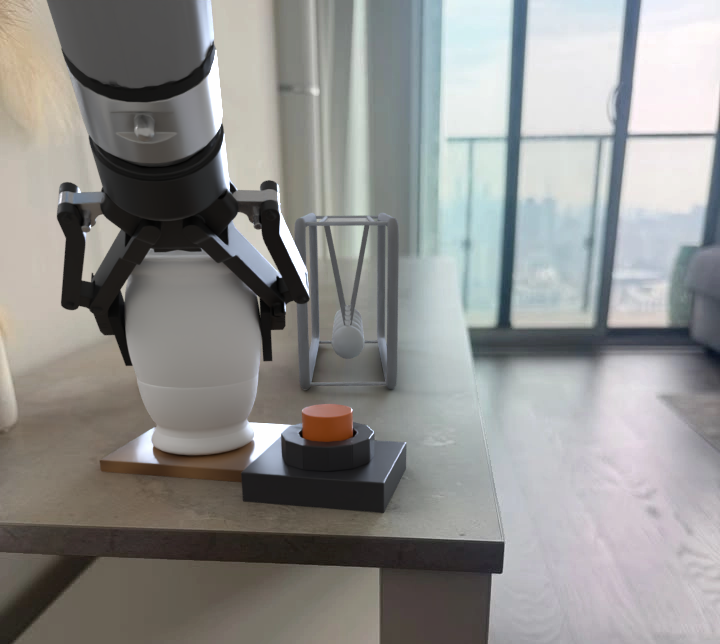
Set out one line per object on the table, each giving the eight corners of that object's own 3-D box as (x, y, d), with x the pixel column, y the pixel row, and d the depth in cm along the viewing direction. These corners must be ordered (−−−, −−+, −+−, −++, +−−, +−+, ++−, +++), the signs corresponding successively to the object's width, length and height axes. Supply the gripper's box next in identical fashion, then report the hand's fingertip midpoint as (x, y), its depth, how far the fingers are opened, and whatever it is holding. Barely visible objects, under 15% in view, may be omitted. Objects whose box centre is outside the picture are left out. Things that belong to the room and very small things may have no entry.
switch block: (242, 502, 52) (238, 447, 51) (283, 460, 60) (281, 412, 59) (383, 513, 50) (384, 457, 48) (406, 468, 58) (407, 419, 57)
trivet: (100, 471, 58) (98, 459, 58) (170, 428, 69) (169, 417, 68) (246, 483, 55) (246, 470, 55) (295, 435, 66) (295, 424, 66)
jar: (270, 458, 58) (260, 254, 52) (131, 466, 56) (106, 257, 51) (264, 420, 67) (254, 245, 62) (145, 426, 66) (125, 248, 61)
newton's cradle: (312, 343, 108) (308, 212, 102) (384, 342, 108) (385, 212, 102) (299, 394, 80) (293, 218, 74) (397, 393, 80) (399, 218, 74)
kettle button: (296, 443, 52) (295, 415, 52) (310, 429, 56) (309, 402, 55) (346, 447, 52) (345, 418, 51) (357, 432, 55) (357, 404, 54)
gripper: (-71, 174, 39) (52, 394, 59) (364, 172, 42) (341, 383, 62) (-53, 75, 42) (59, 316, 62) (352, 79, 45) (334, 309, 65)
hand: (199, 349), depth 62 cm, fingers closed on jar, 10 cm apart
